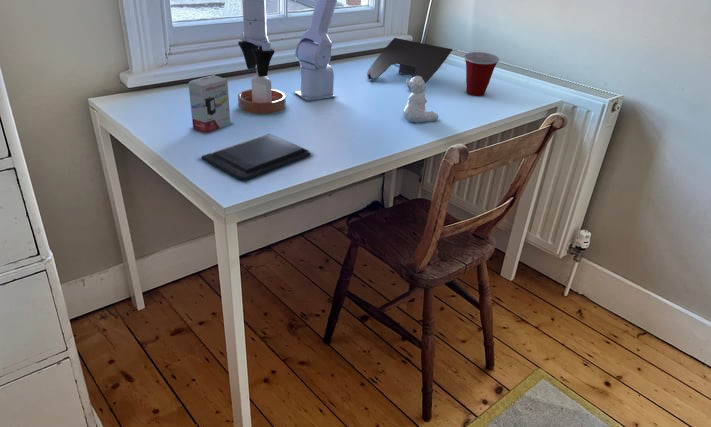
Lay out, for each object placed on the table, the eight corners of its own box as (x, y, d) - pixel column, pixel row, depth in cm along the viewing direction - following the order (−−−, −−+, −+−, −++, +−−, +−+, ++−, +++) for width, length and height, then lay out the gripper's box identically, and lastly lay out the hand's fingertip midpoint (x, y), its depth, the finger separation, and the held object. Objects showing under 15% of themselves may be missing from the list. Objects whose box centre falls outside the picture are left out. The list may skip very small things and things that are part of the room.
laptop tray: (364, 93, 177) (358, 72, 170) (397, 54, 187) (393, 32, 180) (422, 109, 166) (419, 87, 159) (454, 66, 176) (452, 43, 169)
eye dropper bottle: (258, 110, 139) (256, 66, 133) (251, 104, 143) (248, 60, 137) (273, 108, 141) (272, 64, 135) (265, 102, 145) (264, 59, 139)
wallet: (241, 174, 102) (198, 150, 111) (242, 182, 103) (199, 158, 112) (314, 148, 115) (271, 129, 124) (314, 156, 116) (271, 136, 125)
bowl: (273, 98, 150) (273, 86, 148) (293, 111, 141) (293, 99, 139) (231, 103, 143) (231, 91, 142) (249, 118, 134) (248, 105, 133)
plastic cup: (455, 95, 162) (461, 57, 156) (462, 86, 171) (468, 50, 165) (489, 101, 159) (496, 62, 153) (494, 92, 168) (501, 55, 162)
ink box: (206, 133, 124) (201, 85, 118) (192, 128, 126) (186, 81, 120) (231, 124, 130) (228, 78, 124) (217, 119, 132) (213, 74, 126)
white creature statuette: (439, 120, 141) (445, 77, 135) (419, 127, 136) (425, 83, 130) (412, 111, 147) (417, 69, 141) (393, 117, 141) (397, 74, 135)
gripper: (229, 14, 133) (232, 66, 140) (250, 25, 122) (253, 81, 129) (254, 13, 136) (256, 64, 143) (277, 23, 126) (278, 78, 133)
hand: (257, 72), depth 136 cm, fingers open, 7 cm apart
